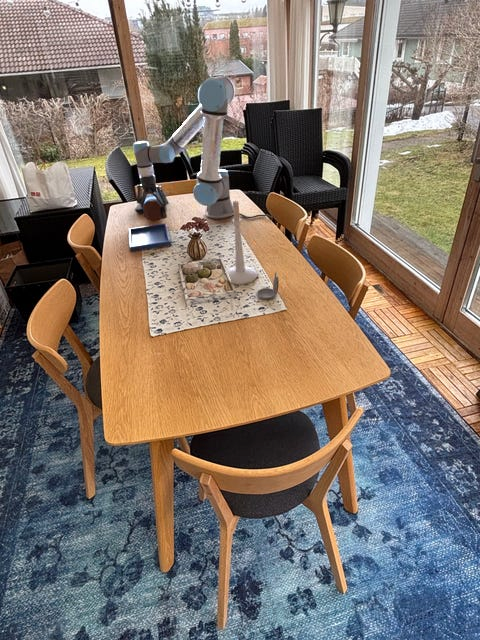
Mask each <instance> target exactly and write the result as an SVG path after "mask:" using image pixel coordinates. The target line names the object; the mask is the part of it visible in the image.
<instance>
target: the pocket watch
mask: <svg viewBox="0 0 480 640" xmlns="http://www.w3.org/2000/svg"><path fill="white" fill-rule="evenodd" d="M277 272H278V270H276V271H275V273H274V274H273V275H274V278H273V280H272V281H273V282H272V288H270V287H263V288H260V289H259V290H257V291H256V295H257V297H258V298H260V299H263V300H269V299H273V298H274V297H275V296H277V295H278V292H279V286H280V285H279V283H280V280H279V276H278V275H277Z"/></svg>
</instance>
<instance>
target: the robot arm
mask: <svg viewBox="0 0 480 640" xmlns="http://www.w3.org/2000/svg"><path fill="white" fill-rule="evenodd" d="M235 96H236V87H235V84H234V83H233V80H231V78H229V77H228V76H225V75H218V76H215V77H214V76H213V77H209V78H207V79H205V80H204V81H203V82H202V83H201V84H200V87H199V88H198V92H197V99H198V102H199V105H198V106H197V107H196V108H195V109H194V111H193V112H192V113H191V114H190V115H189V116H188V117H187V119H186V120H185V121H183V123H182V125H181V126H180V127H179V128H178V129H177V130H176V131H175V132H174V133H173V134H172V136H171V137H170V138H168V140H167V141H165V142H163V143H162V144H159V145H150V143H149V141H147V140H140V141H136V142H134V143H133V154H134V157H135V161H136V165H137V172H138V176H139V180H140V181H139V182H140V184H137V185H136V189H137V193H136V203H137V204H140V205H141V209H142V208H143V205H144V202H145V200H146V197H147V195H150V194H153V196H155V197H156V199H157V200H158V202H159V203H160V204H161V212H162V217H163V219H162V220H165V219H166V218H168V215H167V211H168V210H167V206H168V205H169V204H170V203H169V201H168V199H167V195H166V196H165V194H164V192H165V191H164V190H163V188H162V185H161V184H160V185H157V184H156V182H157V180H156V175H155V170H154V165H153V164H156V163H157V164H159V163H161V164H168V163H173V162H174V161H175V157H176V156H179V155H180V154H181V153H182V152H183V149H184V148H185V146H186V145H187V144H189V143H190V142H191V140H192V139H193V138H194V137H195V136H196V135H197V134H198V133H199V132H200V131H201V130H202V144H201V162H200V171H199V172H198V173H197V175H196V185H195V186H194V188H193V191H192V193H193V198H194V199H195V200H196V202H197V203H198V204H199V205H202V206H204V207H206V209H204V210H205V215H206V217H207V218H210V219H214V220H221V219H227V218H230V217H232V216H234V212H233V201H232V200H231V196H230V195H231V192H230V179H229V177H230V176H229V172H228V170H226V169H223V168H220V166H221V165H220V163H221V154H222V152H221V151H222V141H223V129H224V128H223V127H224V120H225V118H226V117H227V116H228V112H229V105H230V104H231V103H232V101H234V98H235ZM142 210H143V209H142ZM239 216H241V217H243V218H246V219H254V218H258V217H268V218H269V219H270V220H272V221H273V220H274V219H273V217H272V216H271V215H269V214H256V215H252V216H246V215H245V214H242V213H240V212H239ZM143 217H144V218H146V215H145V213H144V210H143Z"/></svg>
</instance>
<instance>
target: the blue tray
mask: <svg viewBox="0 0 480 640" xmlns="http://www.w3.org/2000/svg"><path fill="white" fill-rule="evenodd" d="M128 242H129V243H128V244H129V250H130V253H133V252H138V251H139V252H140V251H144V250H145V251H146V250H152V249H157V248H163V247H164V248H165V247H169V246H172V241H171V238H170V233H169V230H168V226H167V223H166V222H165V223H157V224H152V225H145V226H138V227H131V228H128Z"/></svg>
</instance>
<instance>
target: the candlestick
mask: <svg viewBox="0 0 480 640" xmlns="http://www.w3.org/2000/svg"><path fill="white" fill-rule="evenodd" d="M232 205H233V212H234V215H233V219H231V221H232V222H233V226H234V248H235V249H234V250H235V251H234V252H235V253H234V254H235V255H234V256H235V267H232V268H229V269H228V270H226V272H228V274H229V277H230V279H231V282H232V283H231V284H233V285H246V284H249V283H252V282H254V281H255V280H256V279H257V278H258V272H257V270H255V269H254V268H252V267H250V266H246V264H245V257H244V250H243V241H242V233H241V228H240V227H241V225H242V223H241V222H242V221H243V220H242V218H241V217H240V215H239V213H240V206H239V205H240V204H239V200H233V201H232Z"/></svg>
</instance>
